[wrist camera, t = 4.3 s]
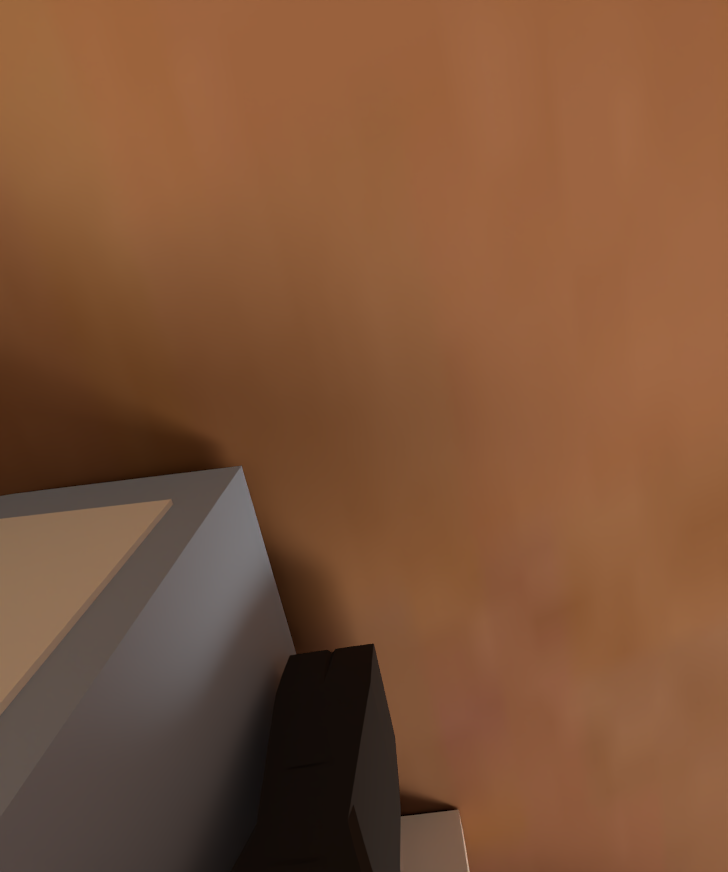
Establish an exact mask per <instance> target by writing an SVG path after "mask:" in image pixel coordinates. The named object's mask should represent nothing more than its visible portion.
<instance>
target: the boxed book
mask: <svg viewBox="0 0 728 872" xmlns="http://www.w3.org/2000/svg"><path fill="white" fill-rule="evenodd" d="M295 654H296V651H295V648H294V644H293V641H292V637H291V634H290V630H289V627H288V624H287V620H286V617H285V613H284V610H283V606H282V603H281V600H280V596H279V593H278V589H277V586H276V582H275V579H274V576H273V572H272V569H271V565H270V562H269V558H268V555H267V552H266V548H265V545H264V541H263V538H262V534H261V531H260V528H259V524H258V521H257V517H256V514H255V510H254V507H253V504H252V500H251V497H250V493H249V490H248V486H247V483H246V480H245V476H244V473H243V469H242V466H236V467H227V468H219V469H211V470H203V471H195V472H187V473H178V474H170V475H162V476H154V477H146V478H138V479H129V480H121V481H113V482H105V483H97V484H89V485H80V486H72V487H64V488H56V489H48V490H40V491H31V492H23V493H16V494H10V495H4V496H0V872H230V871H231V869H232V868H233V866H234V864H235V862H236V861H237V859H238V857H239V855H240V853H241V852H242V850H243V848H244V846H245V844H246V842H247V840H248V838H249V837H250V835H251V833H252V831H253V829H254V827H255V825H256V823H257V817H258V810H259V803H260V796H261V789H262V782H263V775H264V768H265V761H266V754H267V748H268V741H269V734H270V727H271V721H272V714H273V708H274V702H275V696H276V692H277V689H278V686H279V683H280V680H281V677H282V674H283V671H284V669H285V666H286V664H287V661H288V658H289V656H290V655H295Z"/></svg>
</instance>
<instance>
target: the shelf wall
mask: <svg viewBox="0 0 728 872" xmlns="http://www.w3.org/2000/svg"><path fill="white" fill-rule="evenodd" d="M400 872H469V865H468V858H467V852H466V845H465V840H464V835H463V830H462V824H461V819H460V814H459V810H452V811H443V812H435V813H426V814H418V815H409V816H401V834H400Z"/></svg>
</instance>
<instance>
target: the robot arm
mask: <svg viewBox="0 0 728 872" xmlns="http://www.w3.org/2000/svg"><path fill="white" fill-rule="evenodd" d="M400 834H401V805H400V792H399V779H398V767H397V755H396V743H395V735H394V731H393V726H392V722H391V717H390V713H389V709H388V704H387V700H386V695H385V691H384V687H383V682H382V678H381V673H380V669H379V665H378V660H377V656H376V651H375V647H374V644H367V645H360V646H353V647H346V648H339V649H335V650H334V652H333V653H332V652H330V651H328V650H324V651H317V652H310V653H303V654H295V655H290V656H289V658H288V661H287V664H286V666H285V669H284V671H283V674H282V677H281V680H280V683H279V686H278V689H277V692H276V696H275V702H274V708H273V714H272V721H271V727H270V734H269V741H268V748H267V754H266V761H265V768H264V775H263V782H262V789H261V796H260V803H259V810H258V817H257V823H256V825H255V827H254V829H253V831H252V833H251V835H250V837H249V838H248V840H247V842H246V844H245V846H244V848H243V850H242V852H241V853H240V855H239V857H238V859H237V861H236V862H235V864H234V866H233V868H232V869H231V871H230V872H400Z"/></svg>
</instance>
